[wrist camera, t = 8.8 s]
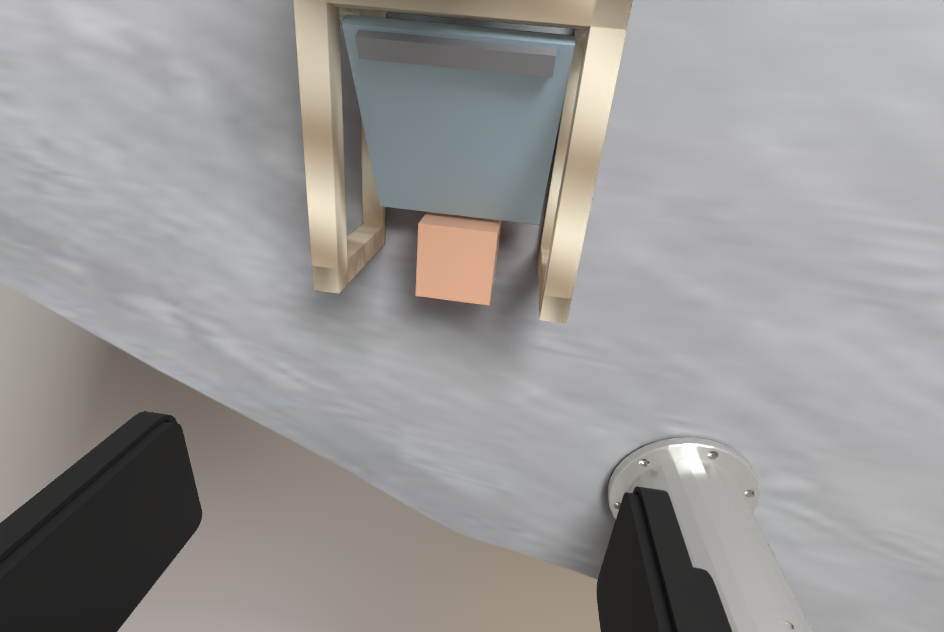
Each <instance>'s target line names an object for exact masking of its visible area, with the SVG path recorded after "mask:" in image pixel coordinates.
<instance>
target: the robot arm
mask: <svg viewBox="0 0 944 632" xmlns="http://www.w3.org/2000/svg"><path fill="white" fill-rule="evenodd" d="M758 499H759V484H758V482H757V479H756V476H755V474H754V472H753V471H752V469H751V467H750V466H749V464H748V463H747V461H746V460H745V459H744V458H743V457H742V456H741V455H740V454H738V453H737V452H736V451H734V450H733V449H731V448H730V447H727V446H725V445H723V444H721V443H718V442H715V441H711V440H707V439H702V438H691V437H684V438H671V439H666V440H661V441H657V442H654V443H651V444H648V445H646V446H644V447H642V448H640V449H638V450H636V451H634V452H633V453H631V454H630V455H629V456H627V457H626V458H625V459H624V460H623V461H622V462H621V463H620V464H619V465H618V466H617V467H616V469H615V470H614V472H613V474H612V476H611V478H610V481H609V485H608V501H609V506H610V510H611V512H612V515H613V517H614V518H615V520H616V521H615V524H614V528H613V531H612V534H611V537H610V541H609V544H608V547H607V551H606V554H605V557H604V561H603V564H602V567H601V571H600V574H599V577H598V582H597V603H598V611H599V620H600V628H601V632H814V631H813V629H812V627H811V625H810V623H809V621H808V619H807V617H806V615H805V613H804V611H803V610H802V608H801V606H800V604H799V602H798V600H797V598H796V596H795V594H794V592H793V590H792V588H791V586H790V584H789V582H788V580H787V578H786V577H785V575H784V573H783V571H782V569H781V567H780V565H779V563H778V561H777V559H776V557H775V555H774V553H773V551H772V549H771V547H770V545H769V543H768V542H767V540H766V538H765V536H764V534H763V532H762V530H761V528H760V526H759V524H758V522H757V520H756V518H755V516H754V514H753V512H754V510H755V508H756V506H757V504H758ZM201 518H202V509H201V505H200V502H199V497H198V493H197V488H196V485H195V480H194V476H193V472H192V468H191V463H190V459H189V456H188V451H187V447H186V443H185V438H184V434H183V430H182V427H181V425H180V424H178V423H177V421H176V419H175V418H174V417H173V416H171V415H166V414H159V413H153V412H146V411H144V412H140V413H138V414H137V415H135V416H134V417H133V418H132V419H130V420H129V421H128V422H126V423H125V424H124V425H123V426H121V427H120V428H119V429H118V430H116V431H115V432H114V433H113V434H111V435H110V436H109V437H107V438H106V439H105V440H104V441H103V442H101V443H100V444H99V445H98V446H96V447H95V448H94V449H93V450H91V451H90V452H89V453H88V454H86V455H85V456H84V457H82V458H81V459H80V460H79V461H78V462H77V463H75V464H74V465H72V466H71V467H70V468H69V469H67V470H66V471H65V472H64V473H63V474H61V475H60V476H59V477H58V478H56V479H55V480H54V481H52V482H51V483H50V484H49V485H47V486H46V487H45V488H44V489H42V490H41V491H40V492H39V493H37V494H36V495H35V496H34V497H33V498H31V499H30V500H29V501H28V502H26V503H25V504H24V505H22V506H21V507H20V508H19V509H17V510H16V511H15V512H14V513H12V514H11V515H10V516H9V517H7V518H6V519H5V520H4V521H3V522H1V523H0V632H117V631H118V630H119V628H120V627H121V626H122V625H123V623H124V622H125V621H126V619H127V618H128V617H129V616H130V614H131V613H132V612H133V610H134V609H135V608H136V607H137V605H138V604H139V603H140V602H141V600H142V599H143V598H144V596H145V595H146V594H147V593H148V591H149V590H150V589H151V588H152V586H153V585H154V584H155V582H156V581H157V580H158V578H159V577H160V576H161V574H162V573H163V572H164V571H165V570H166V568H167V567H168V566H169V564H170V563H171V562H172V561H173V559H174V558H175V557H176V555H177V554H178V553H179V552H180V550H181V549H182V548H183V547H184V545H185V544H186V543H187V541H188V540H189V539H190V538H191V536H192V535H193V534H194V533H195V531H196V530H197V528H198V527H199V524H200V522H201Z"/></svg>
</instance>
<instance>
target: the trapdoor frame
mask: <svg viewBox="0 0 944 632" xmlns="http://www.w3.org/2000/svg"><path fill="white" fill-rule="evenodd" d="M293 1H294V16H295V30H296V44H297V59H298V73H299V87H300V102H301V116H302V130H303V145H304V159H305V173H306V188H307V202H308V216H309V231H310V245H311V260H312V274H313V288H314V290H317V291H324V292H332V293H340V292H341V291H342V290H343V289H344V287H345V286H346V285H347V284H348V283H349V282H350V281H351V280H352V279H353V278H354V277H355V276H356V274H357V273H358V272H359V271H360V270H361V269H362V268H363V267H364V266H365V265H366V264H367V263H368V261H369V260H370V259H371V258H372V257H373V256H374V255H375V254H376V253H377V252H378V251H379V250H380V248H381V247H382V246H383V245H384V244H385V208H386V207H383V206H380V202H379V197H378V193H377V188H376V183H375V178H374V174H373V169H372V164H371V160H370V155H369V150H368V146H367V141H366V136H365V132H364V127H363V122H362V118H361V133H362V194H363V224H362V225H361V226H359V227H358V228H357V229H356V230H355V231H353V232H352V233H351V234H350V235H348V236H347V233H346V203H345V172H344V142H343V112H342V82H341V51H340V21H339V16H342V17H345V16H346V14H348V15H359V16H369V17H380V18H387V12H395V13H406V14H417V15H428V16H439V17H450V18H461V19H471V20H482V21H493V22H504V23H515V24H526V25H537V26H548V27H558V28H569V29H575V35H574V36H575V46H574V51H573V56H572V61H571V66H570V71H569V76H568V81H567V87H566V92H565V97H564V103H563V109H562V115H561V122H560V128H559V134H558V140H557V146H556V153H555V159H554V165H553V171H552V177H551V183H550V190H549V196H548V202H547V208H546V214H545V221H544V227H543V233H542V239H541V245H540V251H539V258H538V284H539V315H540V320H545V321H553V322H561V323H567V319H568V314H569V309H570V304H571V300H572V295H573V290H574V285H575V280H576V275H577V270H578V265H579V260H580V255H581V251H582V246H583V241H584V236H585V231H586V226H587V221H588V216H589V211H590V206H591V202H592V197H593V192H594V187H595V182H596V177H597V172H598V167H599V162H600V157H601V153H602V148H603V143H604V138H605V133H606V128H607V123H608V118H609V113H610V108H611V104H612V99H613V94H614V89H615V84H616V79H617V74H618V69H619V64H620V59H621V55H622V50H623V45H624V40H625V35H626V30H627V25H628V20H629V15H630V10H631V6H632V1H633V0H293Z"/></svg>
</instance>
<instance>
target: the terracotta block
mask: <svg viewBox="0 0 944 632" xmlns="http://www.w3.org/2000/svg"><path fill="white" fill-rule="evenodd" d="M500 230H501V220H493V219H484V218H476V217H467V216H459V215H450V214H442V213H433V212H427V213H426V214H425V216H424V217H423V218H422V219H421V221H420V222H419V223H418V246H417V272H416V296H420V297H428V298H436V299H443V300H451V301H459V302H466V303H474V304H481V305H490V300H491V294H492V289H493V284H494V279H495V271H496V263H497V254H498V246H499V238H500Z"/></svg>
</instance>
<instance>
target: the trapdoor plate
mask: <svg viewBox="0 0 944 632" xmlns="http://www.w3.org/2000/svg"><path fill="white" fill-rule="evenodd" d="M341 24H342V28H343V33H344V38H345V43H346V47H347V52H348V57H349V61H350V66H351V71H352V75H353V80H354V85H355V89H356V94H357V99H358V103H359V108H360V113H361V118H362V122H363V127H364V132H365V136H366V141H367V146H368V150H369V155H370V160H371V164H372V169H373V174H374V178H375V183H376V188H377V193H378V197H379V202H380V206H383V207H391V208H400V209H408V210H417V211H425V212H433V213H442V214H450V215H459V216H467V217H476V218H484V219H493V220H501V221H509V222H518V223H526V224H535V225H539V222H540V217H541V212H542V207H543V202H544V197H545V192H546V187H547V182H548V177H549V172H550V167H551V162H552V157H553V152H554V147H555V142H556V137H557V132H558V127H559V122H560V117H561V112H562V107H563V102H564V97H565V92H566V87H567V81H568V76H569V71H570V66H571V61H572V56H573V51H574V46H575V36H574V35H563V34H552V33H541V32H531V31H520V30H509V29H498V28H488V27H477V26H466V25H455V24H445V23H434V22H423V21H412V20H402V19H391V18H380V17H369V16H359V15H348V14H346V16H345V18H344V20H343V22H342V23H341Z"/></svg>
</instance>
